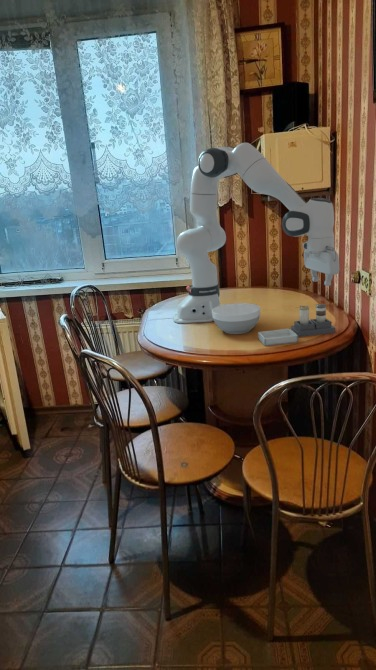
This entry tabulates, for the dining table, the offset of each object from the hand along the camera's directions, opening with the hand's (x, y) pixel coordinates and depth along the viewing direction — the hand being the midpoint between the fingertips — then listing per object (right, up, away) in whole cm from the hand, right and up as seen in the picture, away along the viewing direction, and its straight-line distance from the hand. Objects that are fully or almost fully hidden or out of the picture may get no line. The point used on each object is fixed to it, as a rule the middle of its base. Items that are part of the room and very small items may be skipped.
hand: (321, 283), depth 170 cm
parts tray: (-16, -21, -1) cm, 26 cm away
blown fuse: (+1, -15, +5) cm, 16 cm away
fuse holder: (-2, -18, +5) cm, 18 cm away
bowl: (-29, -17, +15) cm, 37 cm away
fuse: (-5, -16, +4) cm, 17 cm away
